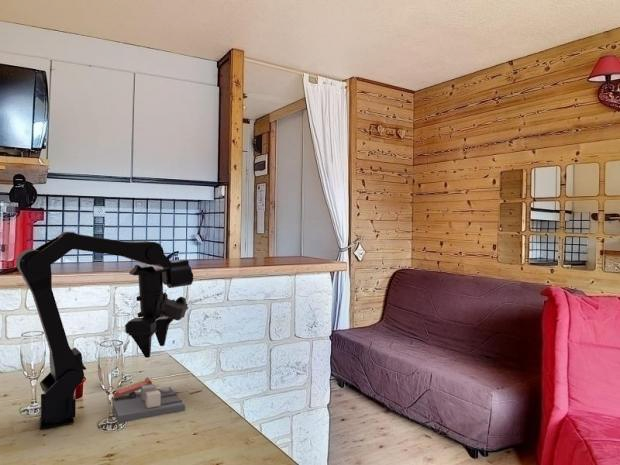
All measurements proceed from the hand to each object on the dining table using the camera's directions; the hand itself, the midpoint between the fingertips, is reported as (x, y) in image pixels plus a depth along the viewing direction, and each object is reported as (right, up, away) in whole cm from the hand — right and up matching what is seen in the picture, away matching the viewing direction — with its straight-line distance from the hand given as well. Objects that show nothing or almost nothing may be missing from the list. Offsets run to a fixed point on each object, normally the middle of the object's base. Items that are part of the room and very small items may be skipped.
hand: (155, 351), depth 117 cm
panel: (-1, -13, -4) cm, 13 cm away
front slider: (+2, -11, -7) cm, 13 cm away
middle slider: (-1, -11, -3) cm, 11 cm away
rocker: (-5, -9, -1) cm, 11 cm away
